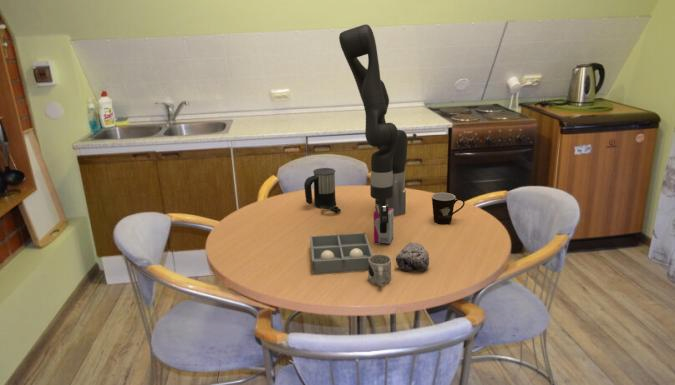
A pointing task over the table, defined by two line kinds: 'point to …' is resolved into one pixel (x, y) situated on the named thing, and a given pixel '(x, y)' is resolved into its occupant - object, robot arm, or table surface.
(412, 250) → the pumice stone
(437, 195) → the coffee mug
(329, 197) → the milk frother
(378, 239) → the supplement box
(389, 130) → the robot arm
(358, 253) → the egg front left
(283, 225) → the table surface
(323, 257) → the egg front right
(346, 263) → the grey divided tray
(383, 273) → the mug
